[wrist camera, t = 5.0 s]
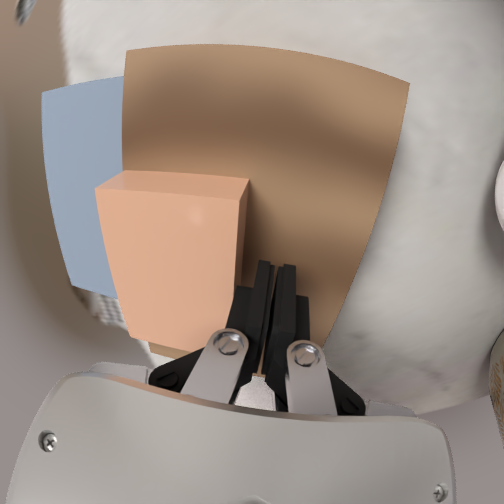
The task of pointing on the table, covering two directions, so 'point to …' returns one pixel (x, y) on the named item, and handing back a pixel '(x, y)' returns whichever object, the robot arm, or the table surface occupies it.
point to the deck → (273, 152)
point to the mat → (82, 172)
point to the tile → (174, 251)
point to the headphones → (500, 195)
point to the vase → (497, 382)
